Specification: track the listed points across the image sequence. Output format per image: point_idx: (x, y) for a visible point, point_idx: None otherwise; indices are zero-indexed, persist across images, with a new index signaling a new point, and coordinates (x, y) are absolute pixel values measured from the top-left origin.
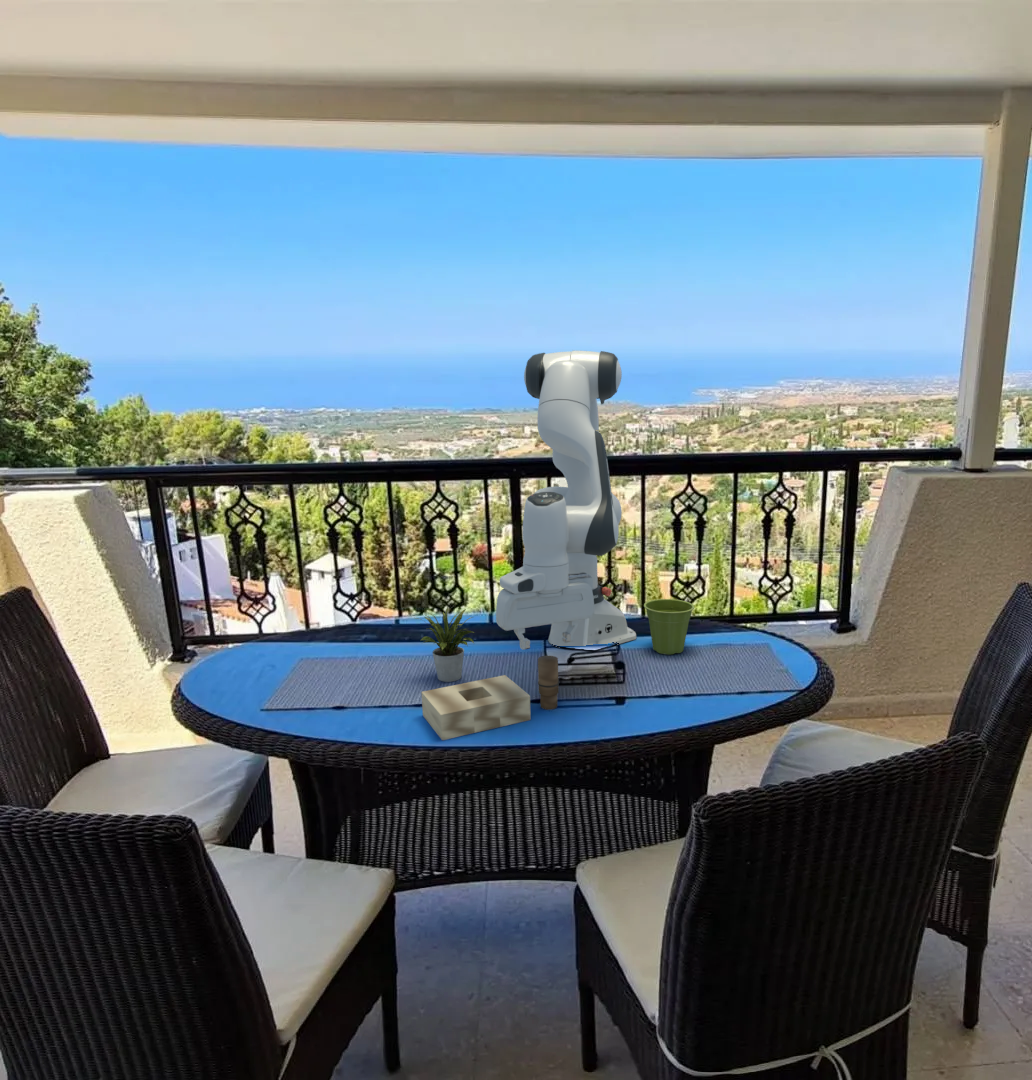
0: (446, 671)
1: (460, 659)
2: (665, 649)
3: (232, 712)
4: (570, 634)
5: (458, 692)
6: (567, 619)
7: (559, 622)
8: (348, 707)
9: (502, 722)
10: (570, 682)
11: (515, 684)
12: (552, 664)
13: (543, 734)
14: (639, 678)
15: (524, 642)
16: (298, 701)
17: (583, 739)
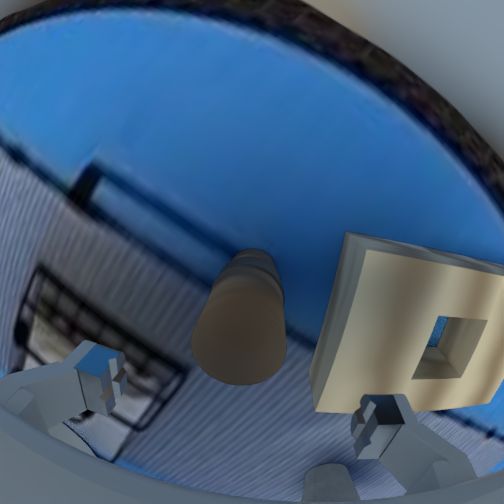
0: (348, 479)
1: (322, 495)
2: None
3: None
4: (76, 367)
5: (463, 373)
6: (34, 441)
7: (116, 466)
8: (486, 432)
9: (420, 247)
10: (128, 345)
11: (340, 349)
12: (246, 301)
13: (368, 140)
14: (11, 260)
15: (412, 418)
16: (491, 456)
17: (300, 56)
